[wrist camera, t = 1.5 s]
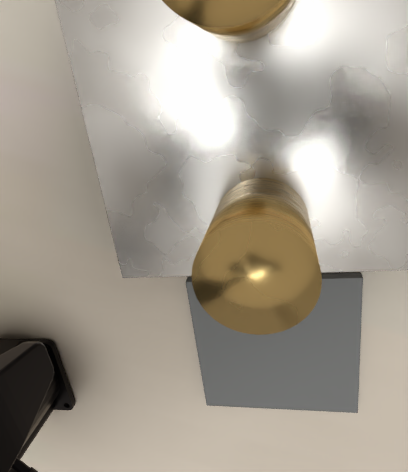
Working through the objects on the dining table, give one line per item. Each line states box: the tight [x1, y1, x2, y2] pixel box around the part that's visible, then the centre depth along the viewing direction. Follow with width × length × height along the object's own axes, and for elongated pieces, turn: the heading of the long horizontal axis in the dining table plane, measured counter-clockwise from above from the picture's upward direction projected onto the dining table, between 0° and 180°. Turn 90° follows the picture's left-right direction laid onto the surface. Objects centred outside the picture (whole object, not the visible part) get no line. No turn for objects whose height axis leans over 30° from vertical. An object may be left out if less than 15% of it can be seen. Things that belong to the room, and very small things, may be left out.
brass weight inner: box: [191, 178, 322, 335], centre depth 14 cm, size 4×4×5 cm
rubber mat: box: [186, 273, 363, 413], centre depth 23 cm, size 10×10×1 cm
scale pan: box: [55, 0, 408, 278], centre depth 15 cm, size 14×14×1 cm
